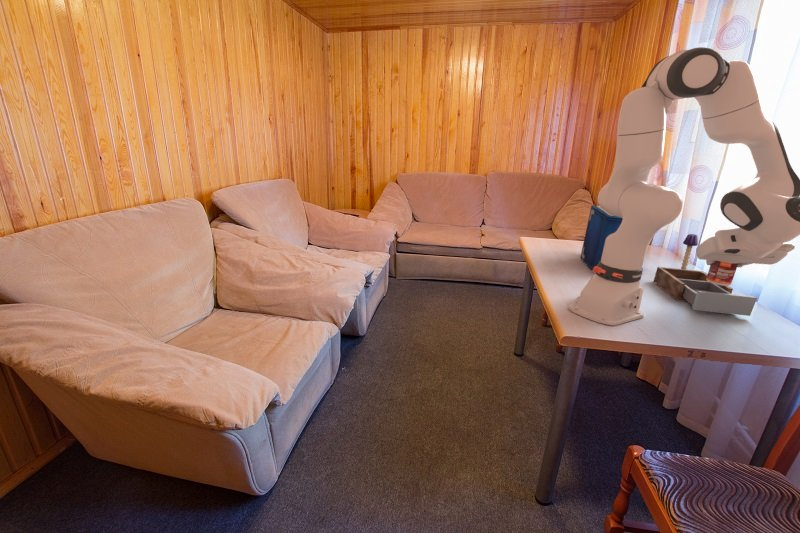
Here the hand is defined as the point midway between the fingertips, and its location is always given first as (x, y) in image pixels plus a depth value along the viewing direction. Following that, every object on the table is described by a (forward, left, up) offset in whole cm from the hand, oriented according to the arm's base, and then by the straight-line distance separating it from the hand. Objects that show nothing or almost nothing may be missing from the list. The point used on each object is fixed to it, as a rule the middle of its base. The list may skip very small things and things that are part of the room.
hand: (722, 264), depth 113 cm
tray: (+2, +2, -14) cm, 14 cm away
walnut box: (+9, +8, -15) cm, 19 cm away
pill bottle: (0, -1, -6) cm, 6 cm away
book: (+8, +41, -15) cm, 44 cm away
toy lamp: (+32, +17, -15) cm, 39 cm away
